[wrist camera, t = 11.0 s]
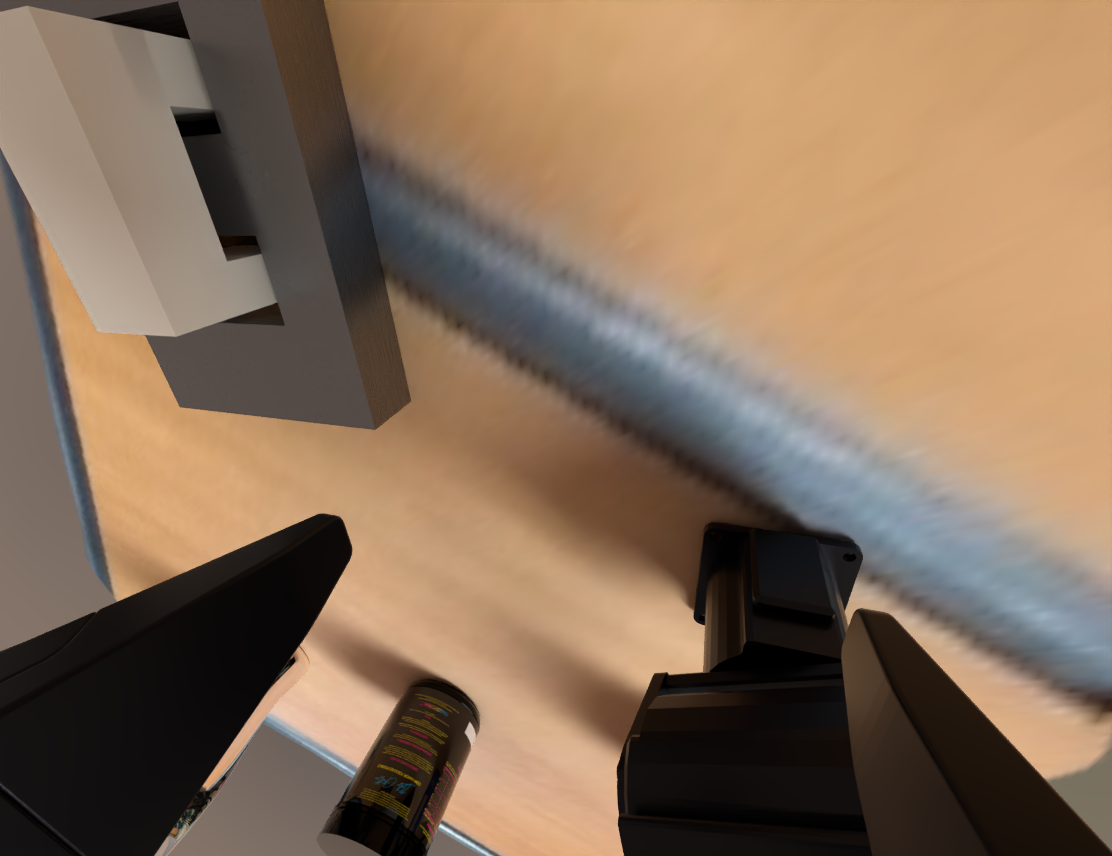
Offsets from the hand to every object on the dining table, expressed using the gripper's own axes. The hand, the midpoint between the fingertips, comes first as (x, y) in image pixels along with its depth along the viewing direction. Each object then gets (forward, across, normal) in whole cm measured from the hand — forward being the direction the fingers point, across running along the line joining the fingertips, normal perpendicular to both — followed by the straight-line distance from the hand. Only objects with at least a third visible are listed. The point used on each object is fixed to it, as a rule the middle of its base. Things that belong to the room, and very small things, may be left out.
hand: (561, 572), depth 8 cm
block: (+13, +18, -6) cm, 23 cm away
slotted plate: (+13, +18, -6) cm, 23 cm away
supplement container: (+13, +15, +31) cm, 37 cm away
